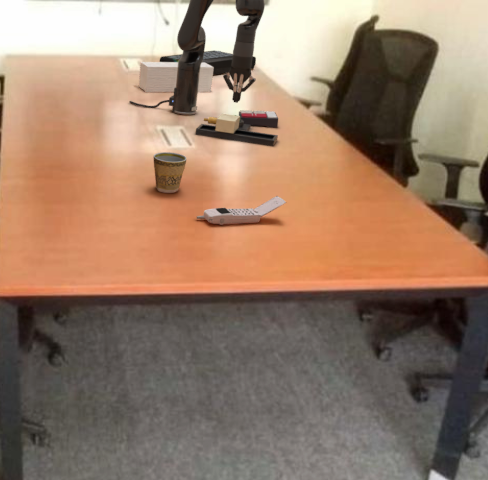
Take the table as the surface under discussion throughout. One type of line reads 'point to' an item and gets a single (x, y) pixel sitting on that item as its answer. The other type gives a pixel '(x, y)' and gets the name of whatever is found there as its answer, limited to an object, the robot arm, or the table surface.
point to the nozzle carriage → (225, 123)
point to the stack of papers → (170, 76)
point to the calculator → (259, 118)
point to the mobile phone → (241, 213)
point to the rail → (238, 135)
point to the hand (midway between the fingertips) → (235, 102)
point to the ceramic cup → (168, 171)
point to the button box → (243, 126)
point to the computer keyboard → (212, 60)
